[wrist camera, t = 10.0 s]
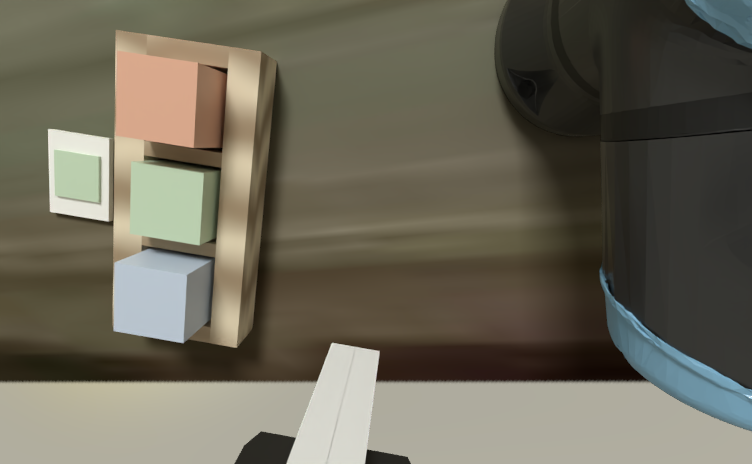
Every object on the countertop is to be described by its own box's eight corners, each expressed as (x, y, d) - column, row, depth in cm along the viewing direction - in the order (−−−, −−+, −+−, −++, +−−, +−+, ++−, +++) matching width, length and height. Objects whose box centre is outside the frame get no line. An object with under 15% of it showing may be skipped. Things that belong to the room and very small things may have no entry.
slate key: (152, 247, 37) (114, 262, 33) (215, 258, 37) (187, 275, 32) (150, 307, 39) (113, 330, 34) (211, 318, 39) (183, 343, 34)
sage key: (167, 159, 37) (131, 161, 33) (230, 169, 37) (203, 173, 32) (164, 222, 39) (129, 233, 34) (225, 232, 39) (199, 245, 34)
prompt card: (53, 129, 39) (45, 128, 38) (113, 138, 39) (106, 138, 38) (55, 210, 41) (47, 212, 40) (112, 220, 40) (106, 222, 40)
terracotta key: (158, 64, 34) (116, 50, 29) (228, 74, 34) (198, 62, 29) (156, 137, 35) (115, 135, 30) (223, 147, 35) (193, 148, 30)
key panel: (146, 42, 37) (115, 30, 33) (276, 61, 36) (261, 51, 32) (139, 309, 42) (112, 325, 38) (252, 328, 42) (236, 347, 38)
